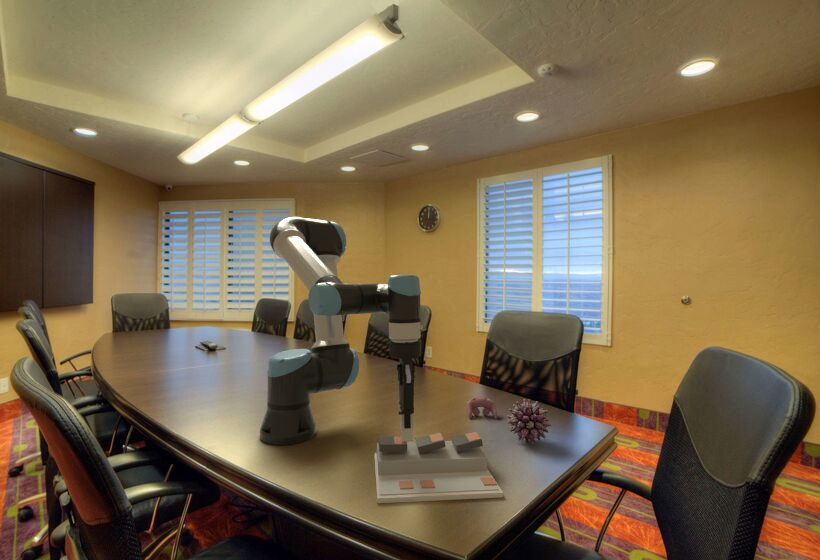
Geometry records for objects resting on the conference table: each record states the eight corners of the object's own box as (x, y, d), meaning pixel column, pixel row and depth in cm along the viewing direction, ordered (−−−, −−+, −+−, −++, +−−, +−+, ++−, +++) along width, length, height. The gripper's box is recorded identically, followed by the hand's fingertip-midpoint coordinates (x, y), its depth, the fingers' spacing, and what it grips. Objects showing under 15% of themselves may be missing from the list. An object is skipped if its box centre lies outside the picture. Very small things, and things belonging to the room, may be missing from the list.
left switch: (379, 451, 89) (379, 443, 89) (378, 442, 93) (379, 435, 93) (406, 452, 89) (407, 444, 89) (404, 443, 94) (405, 436, 94)
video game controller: (495, 420, 129) (493, 398, 132) (498, 418, 125) (496, 396, 128) (466, 420, 128) (464, 398, 131) (468, 418, 124) (467, 396, 127)
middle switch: (419, 453, 90) (417, 446, 90) (416, 444, 94) (415, 438, 94) (445, 447, 90) (444, 440, 90) (441, 438, 95) (440, 431, 95)
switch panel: (377, 503, 77) (377, 483, 77) (374, 457, 97) (374, 441, 97) (502, 497, 80) (503, 478, 80) (475, 453, 100) (475, 438, 100)
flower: (546, 455, 100) (547, 409, 100) (501, 444, 106) (502, 401, 106) (554, 439, 110) (554, 397, 110) (511, 430, 116) (512, 391, 116)
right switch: (457, 452, 91) (455, 445, 91) (452, 443, 96) (451, 437, 96) (482, 446, 92) (481, 438, 92) (477, 437, 96) (475, 430, 96)
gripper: (425, 343, 85) (427, 450, 85) (416, 335, 99) (418, 428, 99) (391, 344, 84) (393, 453, 84) (387, 336, 98) (389, 430, 98)
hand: (406, 439), depth 91 cm, fingers closed, pressing on left switch
